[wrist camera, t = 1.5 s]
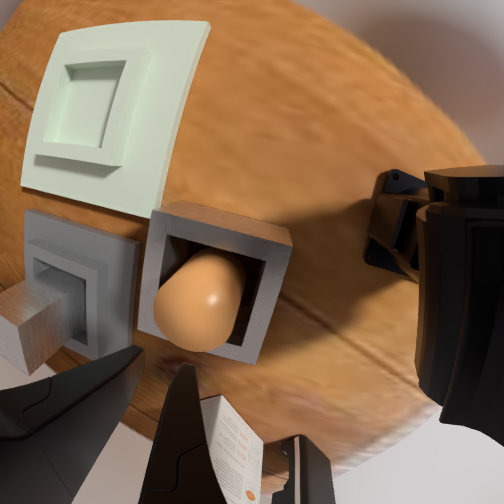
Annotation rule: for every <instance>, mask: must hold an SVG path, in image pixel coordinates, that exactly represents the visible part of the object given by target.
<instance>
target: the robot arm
mask: <svg viewBox="0 0 504 504" xmlns="http://www.w3.org/2000/svg"><path fill="white" fill-rule="evenodd" d="M394 173H395V174H396V176H397V178H396V180H393V178H392V175H393V174H394ZM424 176H425V181H423V180H421V179H418V178H416V177H414V176H412V175H409V174H407V173H405V172H402V171H400V170H398V169H391V170H389V171H388V173H387V176H386V180H385V183H384V187H383V191H382V193H381V194H379V195H378V196H377V200H376V203H375V206H374V210H373V213H372V217H371V220H370V223H369V226H368V230H367V232H368V234H369V238H368V241H367V244H366V247H365V250H364V253H363V260H364V261H365V262H366V263H367V264H368V265H371V266H375V267H378V268H382V269H385V270H389V271H392V272H395V273H399V274H402V275H405V276H409V277H412V278H413V279H414V280H415V281H416V282H418V283H419V310H418V328H417V341H416V352H415V361H414V362H415V367H416V371H417V376H418V378H419V383H418V384H419V387H420V388H421V389H422V390H423V392H424V393H425V394H426V395H427V396H428V397H429V398H430V399H432V400H433V401H435V402H436V403H437V404H439V405H440V406H442V407H443V408H442V412H441V415H440V418H439V421H440V422H441V423H444V424H452V425H461V426H465V427H468V428H471V429H475V430H478V431H480V432H482V433H484V434H486V435H487V436H489V437H491V438H492V439H493V440H495V441H496V442H498V443H499V444H501V445H502V446H503V447H504V165H484V166H471V167H460V168H449V169H439V170H430V171H424ZM370 254H373V258H372V259H370V260H368V256H369V255H370ZM144 368H145V349H144V348H142V347H139V346H136V345H131V346H129V347H126V348H124V349H121V350H119V351H116V352H114V353H111V354H109V355H106V356H104V357H101V358H99V359H96V360H93V361H91V362H88V363H86V364H83V365H80V366H78V367H75V368H73V369H70V370H67V371H64V372H62V373H59V374H56V375H54V376H52V378H51V377H48V378H45V379H42V380H39V381H36V382H33V383H30V384H26V385H22V386H18V387H14V388H10V389H4V390H0V504H71V503H72V501H73V500H74V499H73V498H74V497H75V496H76V494H77V492H78V491H79V489H80V487H81V485H82V483H83V482H84V480H85V478H86V477H87V475H88V473H89V472H90V470H91V468H92V466H93V465H94V463H95V461H96V460H97V458H98V456H99V454H100V453H101V451H102V450H103V448H104V446H105V444H106V443H107V441H108V439H109V438H110V436H111V434H112V433H113V431H114V429H115V428H116V426H117V425H118V423H119V421H120V420H121V418H122V416H123V415H124V413H125V411H126V410H127V408H128V406H129V404H130V401H131V399H132V397H133V394H134V392H135V390H136V388H137V386H138V383H139V381H140V379H141V377H142V374H143V372H144ZM138 504H228V503H227V501H226V499H225V496H224V494H223V492H222V489H221V487H220V485H219V482H218V480H217V477H216V474H215V471H214V468H213V465H212V461H211V457H210V453H209V448H208V444H207V438H206V432H205V427H204V421H203V415H202V409H201V403H200V396H199V390H198V383H197V376H196V368H195V366H194V365H192V364H189V363H185V362H183V363H182V364H181V366H180V368H179V369H178V371H177V373H176V375H175V376H174V378H173V380H172V381H171V383H170V386H169V388H168V392H167V395H166V398H165V402H164V405H163V409H162V413H161V416H160V420H159V423H158V427H157V431H156V434H155V438H154V442H153V446H152V450H151V453H150V457H149V461H148V465H147V469H146V473H145V477H144V481H143V485H142V491H141V494H140V498H139V501H138Z"/></svg>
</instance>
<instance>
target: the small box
mask: <svg viewBox="0 0 504 504" xmlns="http://www.w3.org/2000/svg"><path fill="white" fill-rule="evenodd" d="M200 403H201V409H202V415H203V421H204V427H205V432H206V438H207V444H208V448H209V453H210V457H211V461H212V465H213V468H214V471H215V474H216V477H217V480H218V482H219V485H220V487H221V489H222V492H223V494H224V496H225V499H226V501H227V503H228V504H260V489H261V474H262V458H263V441H262V440H261V439H260V438H259V437H258V436H257V435H256V434H255V433H254V431H253V430H252V429H251V428H250V427H249V426H248V425H247V424H246V423H245V421H244V420H243V419H242V418H241V417H240V415H239V414H238V413H237V412H236V411H235V410H234V409H233V407H232V406H231V405H230V404H229V403H228V401H227V400H226V399H225V398H224V396H223V395H219V396H216V397H212V398H209V399H205V400H201V401H200ZM141 491H142V489H141ZM140 494H141V492H140Z"/></svg>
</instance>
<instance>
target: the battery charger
mask: <svg viewBox="0 0 504 504" xmlns="http://www.w3.org/2000/svg"><path fill="white" fill-rule="evenodd" d="M281 452H282V453H283V454H284V455H285V456H286V457H287V458H289V479H288V481H287V482H286V484H285V485H284V490H281V491H278V492H275V493H273V495H272V503H271V504H336V503H335V495H334V488H333V481H332V473H331V465H330V460H329V459H328V458H327V457H326V456H325V455H324V454H323V453H322V452H321V451H320V450H319V449H318V448H317V447H316V446H315V445H314V444H313V443H312V442H311V441H310V440H309V439H308V438H307V437H306V436H297V437H295V438H294V439H291V440H289V441H287V442H285V443H283V444H282V445H281Z"/></svg>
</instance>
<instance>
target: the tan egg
mask: <svg viewBox="0 0 504 504" xmlns="http://www.w3.org/2000/svg"><path fill="white" fill-rule="evenodd" d="M245 282H246V275H245V270H244V267H243V265H242V263H241V262H240V260H239V259H238V258H237V257H236V256H235V255H234V254H232V253H231V252H229V251H227V250H223V249H220V248H216V247H209V248H205V249H202V250H200V251H198V252H197V253H195V254H194V255H193V256H192V257H191V258H190V259H189V260H188V261H187V262H186V263H185V264H184V265H183V266H182V267H181V268H180V269H179V270H178V271H177V272H176V273H175V274H174V275H173V276H172V277H171V278H170V279H169V280H168V281H167V282H166V283H165V284H164V285H163V286H162V287H161V288H160V289H159V290H158V292H157V294H156V296H155V298H154V302H153V315H154V319H155V322H156V324H157V326H158V328H159V330H160V331H161V333H162V334H163V335H164V336H165V337H166V338H167V339H168V340H169V341H170V342H172V343H173V344H175V345H176V346H178V347H180V348H183V349H185V350H189V351H194V352H205V351H210V350H213V349H216V348H218V347H220V346H221V345H222V344H224V343H225V342H226V341H227V339H228V338H229V336H230V335H231V333H232V330H233V326H234V323H235V319H236V316H237V312H238V309H239V305H240V301H241V298H242V294H243V291H244V287H245Z"/></svg>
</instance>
